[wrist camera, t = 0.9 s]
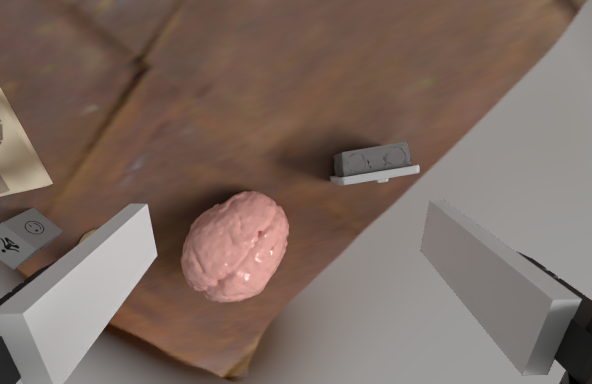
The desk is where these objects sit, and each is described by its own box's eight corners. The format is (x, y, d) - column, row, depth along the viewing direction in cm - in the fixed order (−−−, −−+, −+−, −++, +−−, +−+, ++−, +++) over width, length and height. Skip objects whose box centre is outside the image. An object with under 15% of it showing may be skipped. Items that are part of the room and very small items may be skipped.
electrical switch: (329, 182, 41) (341, 200, 32) (325, 146, 40) (335, 155, 31) (393, 171, 41) (423, 186, 32) (391, 135, 40) (421, 141, 31)
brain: (240, 171, 45) (256, 171, 33) (293, 227, 48) (324, 243, 37) (160, 247, 41) (147, 275, 30) (223, 300, 45) (233, 343, 33)
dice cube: (63, 231, 42) (36, 249, 38) (42, 249, 43) (13, 269, 39) (33, 207, 41) (1, 223, 36) (12, 227, 42) (-22, 244, 37)
